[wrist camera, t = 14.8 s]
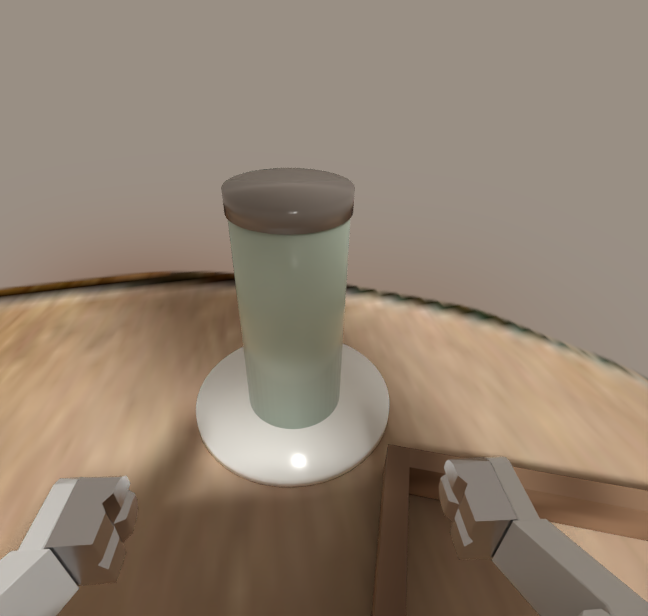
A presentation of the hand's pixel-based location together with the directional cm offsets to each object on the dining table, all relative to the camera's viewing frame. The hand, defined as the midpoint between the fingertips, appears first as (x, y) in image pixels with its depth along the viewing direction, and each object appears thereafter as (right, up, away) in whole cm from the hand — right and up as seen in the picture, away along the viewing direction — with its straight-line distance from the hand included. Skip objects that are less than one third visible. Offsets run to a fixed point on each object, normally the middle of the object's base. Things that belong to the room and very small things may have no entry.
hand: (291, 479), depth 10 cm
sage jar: (-1, -1, +13) cm, 13 cm away
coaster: (-1, -1, +13) cm, 13 cm away
